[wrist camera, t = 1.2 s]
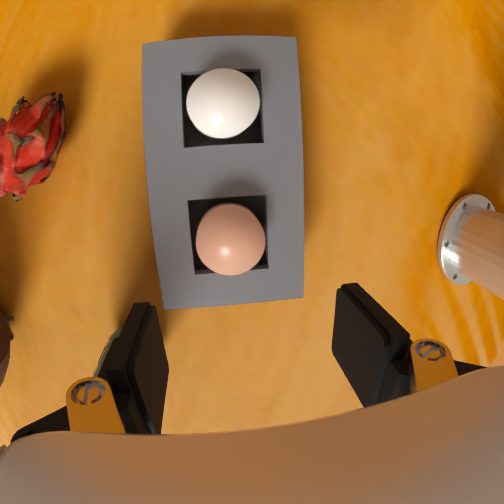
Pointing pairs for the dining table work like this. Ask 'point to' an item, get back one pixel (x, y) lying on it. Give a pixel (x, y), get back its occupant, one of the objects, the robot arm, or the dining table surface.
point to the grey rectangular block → (224, 168)
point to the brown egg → (229, 238)
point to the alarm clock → (4, 345)
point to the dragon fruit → (30, 144)
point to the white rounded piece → (222, 103)
